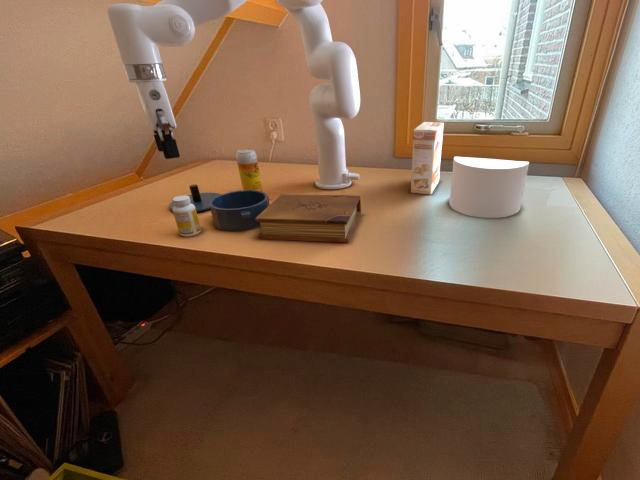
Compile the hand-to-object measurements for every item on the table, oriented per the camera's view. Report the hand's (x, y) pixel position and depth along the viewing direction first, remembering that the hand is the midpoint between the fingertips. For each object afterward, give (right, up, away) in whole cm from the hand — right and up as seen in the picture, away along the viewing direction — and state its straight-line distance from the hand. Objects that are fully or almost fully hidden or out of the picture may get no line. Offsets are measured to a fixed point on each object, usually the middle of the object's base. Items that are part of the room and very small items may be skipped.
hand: (169, 154), depth 89 cm
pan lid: (-5, -7, +27) cm, 28 cm away
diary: (+34, -16, +10) cm, 39 cm away
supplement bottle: (+1, -18, +9) cm, 20 cm away
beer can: (+12, -5, +31) cm, 33 cm away
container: (+83, -9, +20) cm, 86 cm away
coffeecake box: (+68, 0, +36) cm, 77 cm away
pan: (+13, -14, +15) cm, 24 cm away
